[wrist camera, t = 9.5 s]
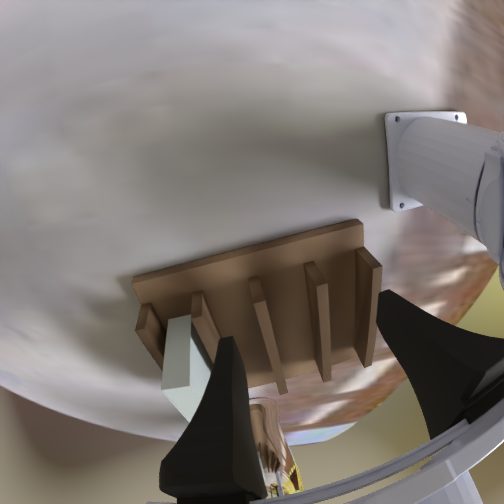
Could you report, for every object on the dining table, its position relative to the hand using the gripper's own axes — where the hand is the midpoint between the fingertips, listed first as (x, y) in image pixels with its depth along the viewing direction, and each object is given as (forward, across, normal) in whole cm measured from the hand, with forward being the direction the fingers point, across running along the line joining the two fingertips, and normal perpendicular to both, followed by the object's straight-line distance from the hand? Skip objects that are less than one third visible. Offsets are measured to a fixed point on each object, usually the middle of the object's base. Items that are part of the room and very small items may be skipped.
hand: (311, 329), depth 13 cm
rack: (+9, +2, +8) cm, 13 cm away
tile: (+8, +8, +8) cm, 14 cm away
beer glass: (+10, +6, +23) cm, 26 cm away
